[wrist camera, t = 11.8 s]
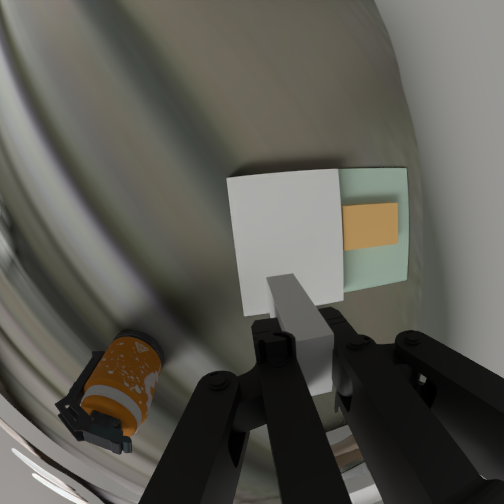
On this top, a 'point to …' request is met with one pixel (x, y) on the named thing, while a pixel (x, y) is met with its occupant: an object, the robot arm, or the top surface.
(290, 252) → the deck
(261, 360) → the robot arm
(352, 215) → the light orange flat block
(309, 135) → the top surface
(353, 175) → the mat
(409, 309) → the top surface
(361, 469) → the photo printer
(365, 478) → the gable box
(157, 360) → the canister
